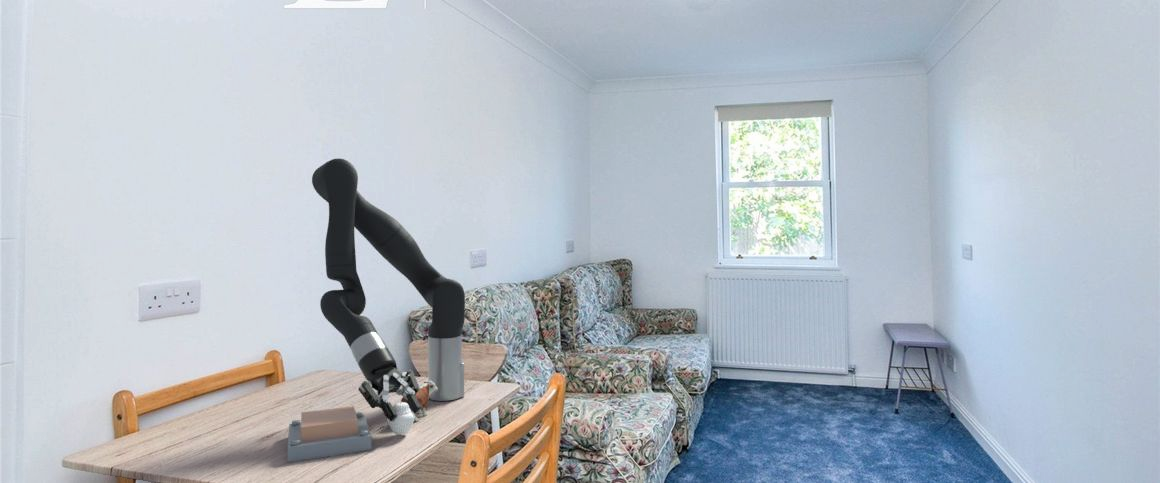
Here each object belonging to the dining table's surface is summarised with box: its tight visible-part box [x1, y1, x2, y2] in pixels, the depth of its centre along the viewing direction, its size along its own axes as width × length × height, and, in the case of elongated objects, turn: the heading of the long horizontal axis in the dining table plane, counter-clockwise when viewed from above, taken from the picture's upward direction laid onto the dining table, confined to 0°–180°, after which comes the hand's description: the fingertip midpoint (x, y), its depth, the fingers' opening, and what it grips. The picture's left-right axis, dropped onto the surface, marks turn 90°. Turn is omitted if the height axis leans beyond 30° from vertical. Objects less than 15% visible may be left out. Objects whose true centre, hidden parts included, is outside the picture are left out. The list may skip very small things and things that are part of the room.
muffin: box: [386, 401, 415, 436], centre depth 134 cm, size 6×6×7 cm
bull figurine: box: [400, 380, 438, 422], centre depth 147 cm, size 4×13×8 cm, turn 161°
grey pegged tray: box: [287, 405, 372, 463], centre depth 129 cm, size 16×16×6 cm
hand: (406, 414), depth 133 cm, fingers closed on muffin, 6 cm apart
